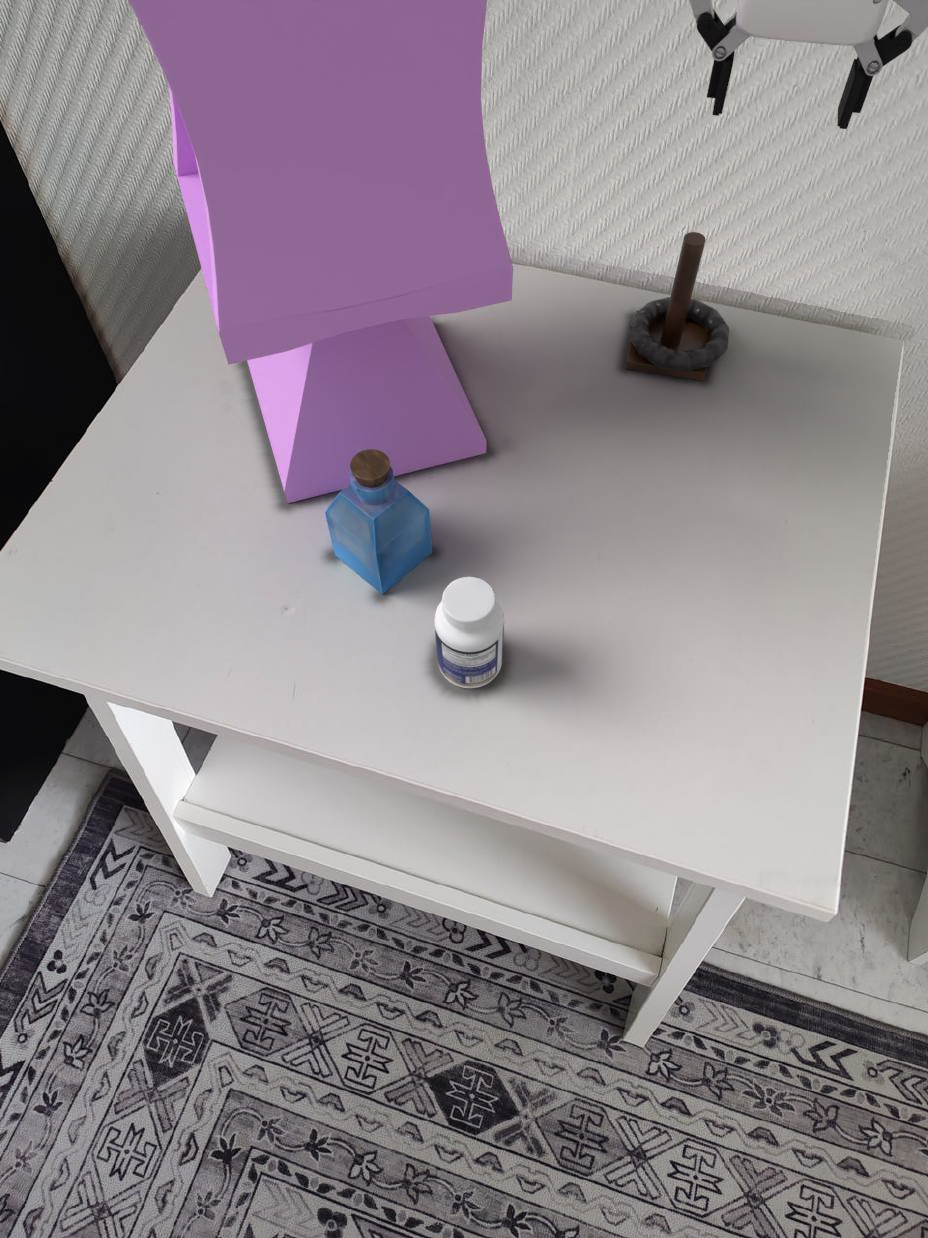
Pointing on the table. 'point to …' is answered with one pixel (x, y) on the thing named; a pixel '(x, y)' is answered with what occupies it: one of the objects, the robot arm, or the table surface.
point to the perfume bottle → (378, 523)
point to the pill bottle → (469, 633)
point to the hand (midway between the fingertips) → (779, 112)
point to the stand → (678, 314)
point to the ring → (674, 357)
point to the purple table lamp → (338, 214)
